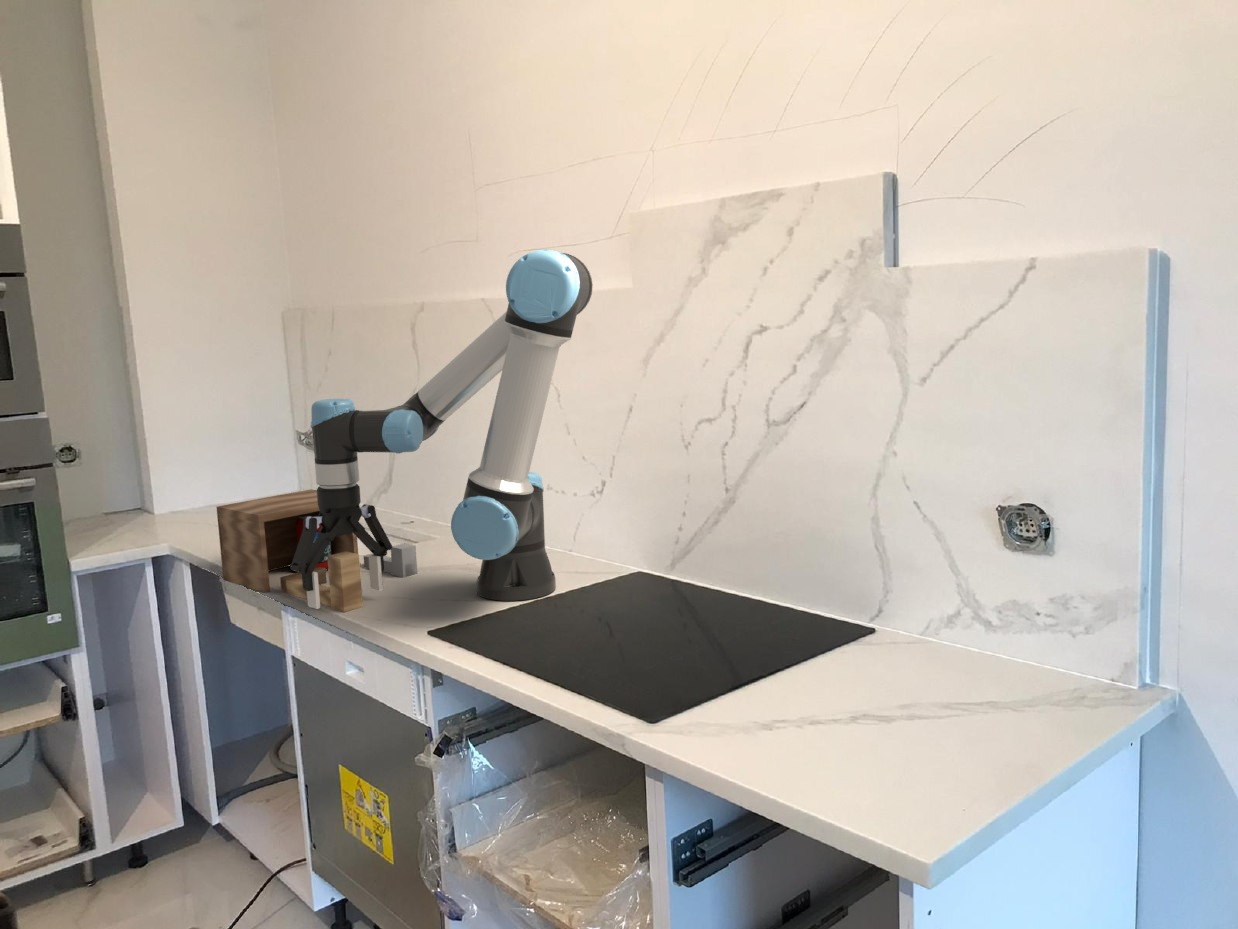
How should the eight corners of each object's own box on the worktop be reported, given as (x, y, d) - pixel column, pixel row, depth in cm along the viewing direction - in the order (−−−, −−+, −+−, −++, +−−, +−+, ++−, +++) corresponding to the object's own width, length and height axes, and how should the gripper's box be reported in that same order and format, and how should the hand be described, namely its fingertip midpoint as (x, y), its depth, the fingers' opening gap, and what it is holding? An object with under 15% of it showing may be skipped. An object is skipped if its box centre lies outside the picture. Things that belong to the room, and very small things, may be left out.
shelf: (359, 568, 212) (354, 496, 210) (265, 592, 196) (258, 515, 193) (316, 557, 223) (310, 489, 220) (223, 580, 206) (216, 506, 203)
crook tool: (388, 599, 189) (384, 547, 187) (344, 612, 182) (340, 559, 180) (321, 581, 203) (317, 533, 201) (277, 592, 196) (273, 543, 194)
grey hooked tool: (417, 573, 207) (415, 545, 206) (403, 577, 204) (401, 549, 203) (376, 564, 216) (374, 537, 215) (362, 567, 213) (360, 540, 212)
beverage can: (322, 574, 208) (318, 518, 206) (293, 573, 210) (288, 517, 208) (338, 565, 215) (333, 511, 213) (309, 565, 216) (304, 510, 214)
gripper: (381, 472, 192) (388, 579, 196) (264, 493, 174) (274, 611, 177) (406, 476, 188) (413, 585, 191) (288, 498, 169) (297, 619, 172)
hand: (346, 598), depth 184 cm, fingers open, 13 cm apart
